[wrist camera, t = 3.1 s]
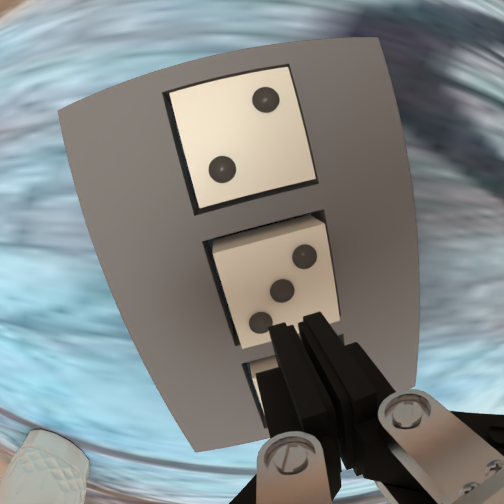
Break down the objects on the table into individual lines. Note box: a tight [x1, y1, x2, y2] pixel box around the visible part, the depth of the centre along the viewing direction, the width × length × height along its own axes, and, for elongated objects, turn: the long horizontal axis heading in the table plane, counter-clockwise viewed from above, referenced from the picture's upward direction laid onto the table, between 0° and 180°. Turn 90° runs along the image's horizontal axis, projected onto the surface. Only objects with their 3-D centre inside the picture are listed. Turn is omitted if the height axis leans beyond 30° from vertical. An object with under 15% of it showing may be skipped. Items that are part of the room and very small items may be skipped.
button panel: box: [58, 37, 420, 452], centre depth 16 cm, size 16×22×2 cm
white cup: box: [0, 429, 90, 504], centre depth 16 cm, size 8×8×10 cm
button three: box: [213, 215, 340, 349], centre depth 15 cm, size 5×5×2 cm
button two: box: [169, 67, 316, 208], centre depth 13 cm, size 5×5×2 cm
